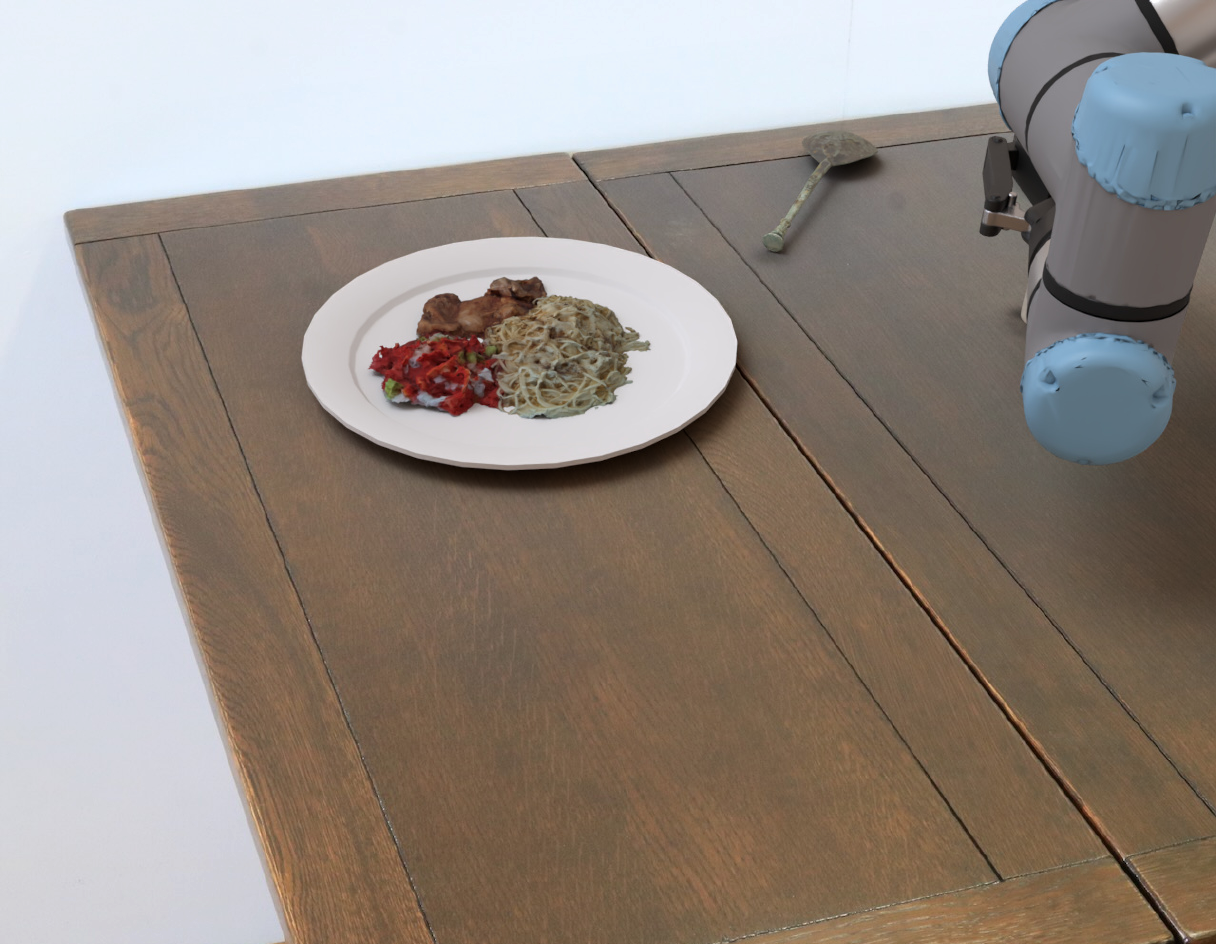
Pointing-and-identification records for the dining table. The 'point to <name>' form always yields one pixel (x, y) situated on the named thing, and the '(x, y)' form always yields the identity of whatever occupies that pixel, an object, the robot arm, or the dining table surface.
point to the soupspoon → (821, 171)
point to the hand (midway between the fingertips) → (1089, 120)
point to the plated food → (519, 353)
